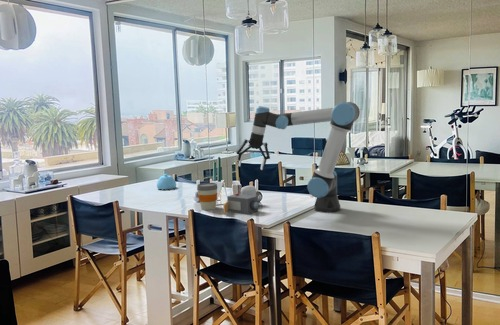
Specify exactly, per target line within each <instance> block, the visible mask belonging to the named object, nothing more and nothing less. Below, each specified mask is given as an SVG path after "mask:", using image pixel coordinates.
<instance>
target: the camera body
mask: <svg viewBox="0 0 500 325" xmlns="http://www.w3.org/2000/svg"><path fill="white" fill-rule="evenodd" d="M227 200H229V210H228V211H227V212H233V213H237V214H239V213H240V214H245V215H246V214H247V215H249V214H253V213H256V212H259V206H260V204H259V198H258V195H256V196H253V195H245V194H241V193H239V192H235V193H234V194H231V195H227Z"/></svg>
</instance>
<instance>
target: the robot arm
mask: <svg viewBox="0 0 500 325" xmlns="http://www.w3.org/2000/svg"><path fill="white" fill-rule="evenodd" d="M359 117H360V108H359V106H358V105H357V104H356V103H354V102H352V101H342V102H339V103H337V104H336V105H334V106H333V107H328V108H327V107H326V108H318V109H310V110H301V111H295V112H285V113H280V114H279V113H278V114H277V113H274V112H270V108H269V107H266V106H262V105H259V106H257V107H256V109H255V113H254V119H253V124H252V128H251V133H250V137H249V139H247V138H244V140H243V141H242V143H241V145H240V146H239V147H238V149H237V150H236V152H235V154H237V155H238V157H237V160H238V165H237V166H238V167H240V168H241V164H242V160H243V155H244V154H245V153H246V152H247V151H248V150H250V149H253V150H255V149H256V150H259V151H260V153H261V155H262V156H263V158H262V159H261V164H260V170H261V171H263V170H264V166H265V165H266V164H267V163H266V162H267V160H271V156H270V152H269V149H268V148H269V147H268V143H267V142H264V137H265V132H266V127H267V126H269V127H271V128H272V127H273V128H276V129H278V130H286V129H287V127H291V126H292V127H293V126H298V125H299V126H300V125H307V124H310V125H311V124H319V123H326V122H327V123H328V122H330V123H329V124H330V126H331V128H330V130H329V131H330V132H329V135H328V138H327V141H326V143H325V146H324V149H323V153H322V156H321V158H320V161H319V165H318V167H317V168H316V169H314V170H313V173H312V176H311V178H310V179H309V181H308V183H307V187H306V188H307V192H308V193H309V195H310V196H312V197H313V198H315V202H314V211H315V212H319V213H336V212H340V211H341V203H340V201H339V198H338V174H337V172H336V171H335V168H336V167H337V166H336V165H337V162H338V160H339V156H340V153H341V152H342V148H343V145H344V142H345V139H346V137H347V133H349V132H350V131H352V128H353V125H354V123H355V122H356V121H357V120H358V119H359ZM247 144H248V145H247ZM246 145H247V146H246ZM245 146H246V147H245ZM262 146H263V147H264V150H265V153H264V151H263V149H262Z"/></svg>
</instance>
